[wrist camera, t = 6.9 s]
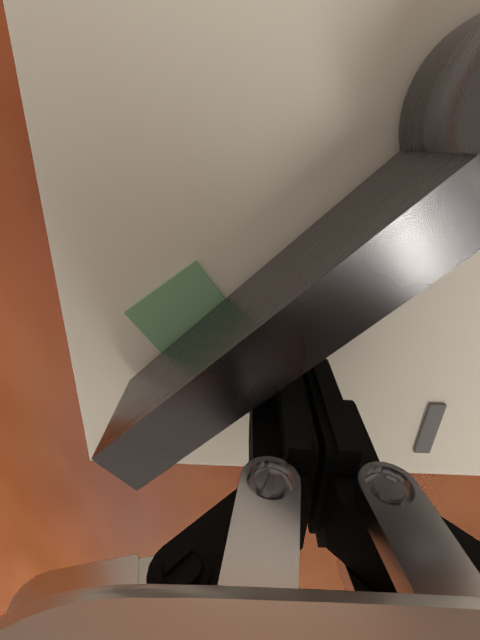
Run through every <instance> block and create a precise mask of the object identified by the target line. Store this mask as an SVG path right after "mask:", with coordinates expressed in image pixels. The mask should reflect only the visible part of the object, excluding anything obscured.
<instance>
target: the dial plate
mask: <svg viewBox="0 0 480 640" xmlns="http://www.w3.org/2000/svg"><path fill="white" fill-rule="evenodd" d="M3 4H4V9H5V14H6V19H7V25H8V30H9V35H10V41H11V46H12V51H13V56H14V62H15V67H16V72H17V78H18V83H19V88H20V93H21V99H22V104H23V109H24V115H25V120H26V125H27V130H28V136H29V141H30V146H31V151H32V157H33V162H34V167H35V173H36V178H37V183H38V188H39V194H40V199H41V204H42V210H43V215H44V220H45V225H46V231H47V236H48V241H49V247H50V252H51V257H52V262H53V268H54V273H55V278H56V284H57V289H58V294H59V299H60V305H61V310H62V315H63V321H64V326H65V331H66V336H67V342H68V347H69V352H70V358H71V363H72V368H73V373H74V379H75V384H76V389H77V395H78V400H79V405H80V410H81V416H82V421H83V426H84V431H85V437H86V442H87V447H88V453H89V458H90V460H92V459H91V458H92V456H93V454H94V452H95V450H96V448H97V446H98V444H99V442H100V440H101V438H102V436H103V434H104V432H105V430H106V428H107V426H108V424H109V422H110V419H111V417H112V415H113V413H114V411H115V409H116V407H117V405H118V403H119V401H120V399H121V397H122V395H123V393H124V391H125V389H126V387H127V385H128V383H129V381H130V379H131V378H133V377H134V376H135V375H136V374H137V373H138V372H140V371H141V370H142V369H143V368H144V367H146V366H147V365H148V364H149V363H150V362H151V361H153V360H154V359H155V358H156V357H157V356H158V355H160V354H161V353H162V352H163V351H164V350H166V349H167V348H168V347H169V346H170V345H171V344H173V343H174V342H175V341H176V340H177V339H179V338H180V337H181V336H182V335H183V334H184V333H186V332H187V331H188V330H189V329H190V328H191V327H193V326H194V325H195V324H196V323H197V322H199V321H200V320H201V319H202V318H203V317H204V316H206V315H207V314H208V313H209V312H210V311H212V310H213V309H214V308H215V307H216V306H217V305H219V304H220V303H221V302H222V301H223V300H224V299H226V298H227V297H228V296H229V295H230V294H232V293H233V292H234V291H235V290H236V289H237V288H239V287H240V286H241V285H242V284H243V283H245V282H246V281H247V280H248V279H249V278H250V277H252V276H253V275H254V274H255V273H256V272H257V271H259V270H260V269H261V268H262V267H263V266H265V265H266V264H267V263H268V262H269V261H270V260H272V259H273V258H274V257H275V256H276V255H278V254H279V253H280V252H281V251H282V250H283V249H285V248H286V247H287V246H288V245H289V244H290V243H292V242H293V241H294V240H295V239H296V238H298V237H299V236H300V235H301V234H302V233H303V232H305V231H306V230H307V229H308V228H309V227H311V226H312V225H313V224H314V223H315V222H316V221H318V220H319V219H320V218H321V217H322V216H324V215H325V214H326V213H327V212H328V211H329V210H331V209H332V208H333V207H334V206H335V205H336V204H338V203H339V202H340V201H341V200H342V199H344V198H345V197H346V196H347V195H348V194H349V193H351V192H352V191H353V190H354V189H355V188H357V187H358V186H359V185H360V184H361V183H362V182H364V181H365V180H366V179H367V178H368V177H369V176H371V175H372V174H373V173H374V172H375V171H377V170H378V169H379V168H380V167H381V166H382V165H384V164H385V163H386V162H387V161H388V160H390V159H391V158H392V157H393V156H394V155H395V154H397V153H398V152H399V151H400V149H399V121H400V115H401V110H402V106H403V102H404V99H405V96H406V93H407V91H408V88H409V86H410V84H411V82H412V80H413V78H414V76H415V74H416V72H417V70H418V69H419V67H420V66H421V64H422V63H423V61H424V60H425V58H426V57H427V56H428V55H429V53H430V52H431V51H432V50H433V48H434V47H435V46H436V45H437V44H438V43H439V42H440V41H441V40H442V39H443V38H444V37H445V36H446V35H448V34H449V33H450V32H451V31H453V30H454V29H455V28H456V27H458V26H459V25H461V24H462V23H464V22H465V21H467V20H469V19H470V18H472V17H474V16H476V15H478V14H479V13H480V0H3ZM326 359H328V361H329V364H330V366H331V369H332V372H333V374H334V377H335V380H336V382H337V385H338V387H339V390H340V393H341V395H342V398H343V400H353V401H354V402H355V404H356V406H357V409H358V411H359V413H360V416H361V418H362V420H363V423H364V425H365V428H366V430H367V432H368V435H369V437H370V439H371V442H372V444H373V446H374V449H375V451H376V454H377V456H378V458H379V461H380V462H387V463H390V464H394V465H396V466H398V467H400V468H402V469H404V470H405V471H406V472H408V473H424V474H449V475H475V476H480V251H478V252H477V253H475V254H474V255H473V256H471V257H470V258H468V259H467V260H465V261H464V262H463V263H461V264H460V265H458V266H457V267H455V268H454V269H453V270H451V271H450V272H448V273H447V274H445V275H444V276H443V277H441V278H440V279H438V280H437V281H435V282H434V283H433V284H431V285H430V286H428V287H427V288H425V289H424V290H423V291H421V292H420V293H418V294H417V295H416V296H414V297H413V298H411V299H410V300H408V301H407V302H406V303H404V304H403V305H401V306H400V307H398V308H397V309H396V310H394V311H393V312H391V313H390V314H388V315H387V316H386V317H384V318H383V319H381V320H380V321H378V322H377V323H376V324H374V325H373V326H371V327H370V328H368V329H367V330H366V331H364V332H363V333H361V334H360V335H358V336H357V337H356V338H354V339H353V340H351V341H350V342H348V343H347V344H346V345H344V346H343V347H341V348H340V349H338V350H337V351H336V352H334V353H333V354H331V355H330V356H328V357H327V358H326ZM249 417H250V412H249V413H247V414H246V415H244V416H243V417H241V418H240V419H239V420H237V421H236V422H234V423H233V424H231V425H230V426H229V427H227V428H226V429H224V430H223V431H222V432H220V433H219V434H217V435H216V436H214V437H213V438H212V439H210V440H209V441H207V442H206V443H204V444H203V445H202V446H200V447H199V448H197V449H196V450H194V451H193V452H192V453H190V454H189V455H187V456H186V457H184V458H183V459H182V460H180V461H179V462H177V463H176V464H195V465H220V466H245V465H246V464H247V463H248V462H249Z"/></svg>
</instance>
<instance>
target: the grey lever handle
mask: <svg viewBox="0 0 480 640" xmlns="http://www.w3.org/2000/svg"><path fill="white" fill-rule="evenodd" d="M399 149H400V151H399V152H398V153H397V154H395V155H394V156H393V157H392V158H391V159H390V160H388V161H387V162H386V163H385V164H384V165H382V166H381V167H380V168H379V169H378V170H377V171H375V172H374V173H373V174H372V175H371V176H369V177H368V178H367V179H366V180H365V181H364V182H362V183H361V184H360V185H359V186H358V187H357V188H355V189H354V190H353V191H352V192H351V193H349V194H348V195H347V196H346V197H345V198H344V199H342V200H341V201H340V202H339V203H338V204H336V205H335V206H334V207H333V208H332V209H331V210H329V211H328V212H327V213H326V214H325V215H324V216H322V217H321V218H320V219H319V220H318V221H316V222H315V223H314V224H313V225H312V226H311V227H309V228H308V229H307V230H306V231H305V232H303V233H302V234H301V235H300V236H299V237H298V238H296V239H295V240H294V241H293V242H292V243H290V244H289V245H288V246H287V247H286V248H285V249H283V250H282V251H281V252H280V253H279V254H278V255H276V256H275V257H274V258H273V259H272V260H270V261H269V262H268V263H267V264H266V265H265V266H263V267H262V268H261V269H260V270H259V271H257V272H256V273H255V274H254V275H253V276H252V277H250V278H249V279H248V280H247V281H246V282H245V283H243V284H242V285H241V286H240V287H239V288H237V289H236V290H235V291H234V292H233V293H232V294H230V295H229V296H228V297H227V298H226V299H224V300H223V301H222V302H221V303H220V304H219V305H217V306H216V307H215V308H214V309H213V310H212V311H210V312H209V313H208V314H207V315H206V316H204V317H203V318H202V319H201V320H200V321H199V322H197V323H196V324H195V325H194V326H193V327H191V328H190V329H189V330H188V331H187V332H186V333H184V334H183V335H182V336H181V337H180V338H179V339H177V340H176V341H175V342H174V343H173V344H171V345H170V346H169V347H168V348H167V349H166V350H164V351H163V352H162V353H161V354H160V355H158V356H157V357H156V358H155V359H154V360H153V361H151V362H150V363H149V364H148V365H147V366H146V367H144V368H143V369H142V370H141V371H140V372H138V373H137V374H136V375H135V376H134V377H133V378H131V379H130V381H129V383H128V385H127V387H126V389H125V391H124V393H123V395H122V397H121V399H120V401H119V403H118V405H117V407H116V409H115V411H114V413H113V415H112V417H111V419H110V422H109V424H108V426H107V428H106V430H105V432H104V434H103V436H102V438H101V440H100V442H99V444H98V446H97V448H96V450H95V452H94V454H93V456H92V458H91V459H92V460H93V461H95V462H96V463H98V464H99V465H100V466H102V467H103V468H105V469H106V470H108V471H109V472H111V473H112V474H114V475H115V476H117V477H118V478H119V479H121V480H122V481H124V482H125V483H127V484H128V485H130V486H131V487H133V488H134V489H135V490H139V489H140V488H142V487H143V486H144V485H146V484H147V483H149V482H150V481H152V480H153V479H154V478H156V477H157V476H159V475H160V474H162V473H163V472H164V471H166V470H167V469H169V468H170V467H172V466H173V465H174V464H176V463H177V462H179V461H180V460H182V459H183V458H184V457H186V456H187V455H189V454H190V453H192V452H193V451H194V450H196V449H197V448H199V447H200V446H202V445H203V444H204V443H206V442H207V441H209V440H210V439H212V438H213V437H214V436H216V435H217V434H219V433H220V432H222V431H223V430H224V429H226V428H227V427H229V426H230V425H231V424H233V423H234V422H236V421H237V420H239V419H240V418H241V417H243V416H244V415H246V414H247V413H249V412H250V411H251V410H253V409H254V408H256V407H257V406H259V405H260V404H261V403H263V402H264V401H266V400H267V399H269V398H270V397H271V396H273V395H274V394H276V393H277V392H279V391H280V390H281V389H283V388H284V387H286V386H287V385H289V384H290V383H291V382H293V381H294V380H296V379H297V378H299V377H300V376H301V375H303V374H304V373H306V372H307V371H309V370H310V369H311V368H313V367H314V366H316V365H317V364H319V363H320V362H321V361H323V360H324V359H326V358H327V357H328V356H330V355H331V354H333V353H334V352H336V351H337V350H338V349H340V348H341V347H343V346H344V345H346V344H347V343H348V342H350V341H351V340H353V339H354V338H356V337H357V336H358V335H360V334H361V333H363V332H364V331H366V330H367V329H368V328H370V327H371V326H373V325H374V324H376V323H377V322H378V321H380V320H381V319H383V318H384V317H386V316H387V315H388V314H390V313H391V312H393V311H394V310H396V309H397V308H398V307H400V306H401V305H403V304H404V303H406V302H407V301H408V300H410V299H411V298H413V297H414V296H416V295H417V294H418V293H420V292H421V291H423V290H424V289H425V288H427V287H428V286H430V285H431V284H433V283H434V282H435V281H437V280H438V279H440V278H441V277H443V276H444V275H445V274H447V273H448V272H450V271H451V270H453V269H454V268H455V267H457V266H458V265H460V264H461V263H463V262H464V261H465V260H467V259H468V258H470V257H471V256H473V255H474V254H475V253H477V252H478V251H480V13H479V14H478V15H476V16H474V17H472V18H470V19H469V20H467V21H465V22H464V23H462V24H461V25H459V26H458V27H456V28H455V29H454V30H453V31H451V32H450V33H449V34H448V35H446V36H445V37H444V38H443V39H442V40H441V41H440V42H439V43H438V44H437V45H436V46H435V47H434V48H433V50H432V51H431V52H430V53H429V55H428V56H427V57H426V58H425V60H424V61H423V63H422V64H421V66H420V67H419V69H418V70H417V72H416V74H415V76H414V78H413V80H412V82H411V84H410V86H409V88H408V91H407V93H406V96H405V99H404V102H403V106H402V110H401V115H400V121H399Z"/></svg>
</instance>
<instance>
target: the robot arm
mask: <svg viewBox="0 0 480 640" xmlns="http://www.w3.org/2000/svg"><path fill="white" fill-rule="evenodd" d="M307 523H308V529H309V532H310V533H316V538H317V543H318V547H325V548H327V549H328V550H329V551H330V552H332V553H333V554H334V555H335V556H336V557H337V566H338V571H339V574H340V577H341V579H342V582H343V585H344V588H345V591H342V590H320V589H299V559H300V550H301V549H302V548H303V543H304V538H305V532H306V527H307ZM0 640H480V541H478V540H476V539H475V538H473V537H472V536H470V535H469V534H467V533H466V532H464V531H463V530H461V529H460V528H458V527H457V526H455V525H453V524H452V523H450V522H449V521H447V520H446V519H444V518H443V517H441V516H440V515H439V513H438V512H437V510H436V509H435V507H434V506H433V505H432V503H431V502H430V500H429V499H428V497H427V496H426V494H425V493H424V491H423V490H422V488H421V487H420V486H419V484H418V483H417V481H416V480H415V479H414V478H413V477H412V476H411V475H410V474H409V473H408V472H406V471H405V470H404V469H402V468H400V467H398V466H396V465H394V464H390V463H387V462H380V461H379V458H378V456H377V454H376V451H375V449H374V446H373V444H372V442H371V439H370V437H369V435H368V432H367V430H366V428H365V425H364V423H363V420H362V418H361V416H360V413H359V411H358V409H357V406H356V404H355V402H354V401H353V400H343V398H342V395H341V393H340V390H339V387H338V385H337V382H336V380H335V377H334V374H333V372H332V369H331V366H330V364H329V361H328V359H324V360H323V361H321V362H320V363H319V364H317V365H316V366H314V367H313V368H311V369H310V370H309V371H307V372H306V373H304V374H303V375H301V376H300V377H299V378H297V379H296V380H294V381H293V382H291V383H290V384H289V385H287V386H286V387H284V388H283V389H281V390H280V391H279V392H277V393H276V394H274V395H273V396H271V397H270V398H269V399H267V400H266V401H264V402H263V403H261V404H260V405H259V406H257V407H256V408H254V409H253V410H251V411H250V417H249V462H248V463H247V464H246V465H245V466H244V467H243V469H242V472H241V474H240V479H239V484H238V488H237V489H236V490H235V491H233V492H232V493H231V494H229V495H228V496H227V497H226V498H224V499H223V500H222V501H220V502H219V503H218V504H217V505H215V506H214V507H213V508H211V509H210V510H209V511H208V512H206V513H205V514H204V515H203V516H201V517H200V518H199V519H197V520H196V521H195V522H194V523H192V524H191V525H190V526H188V527H187V528H186V529H185V530H183V531H182V532H181V533H179V534H178V535H177V536H176V537H174V538H173V539H172V540H171V541H169V542H168V543H167V544H165V545H164V546H163V547H162V548H161V549H160V550H159V551H158V552H157V553H156V554H155V555H154V556H150V557H145V558H140V559H139V556H138V554H135V555H130V556H125V557H119V558H114V559H109V560H104V561H98V562H93V563H88V564H83V565H77V566H72V567H67V568H62V569H56V570H51V571H48V572H45V573H42V574H40V575H37V576H35V577H34V578H33V579H31V580H30V581H28V582H27V583H26V584H24V585H23V586H22V588H21V589H20V590H19V591H18V592H17V593H16V595H15V596H14V597H13V599H12V601H11V604H10V606H9V608H8V610H7V612H6V613H5V614H3V615H1V616H0Z"/></svg>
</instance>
